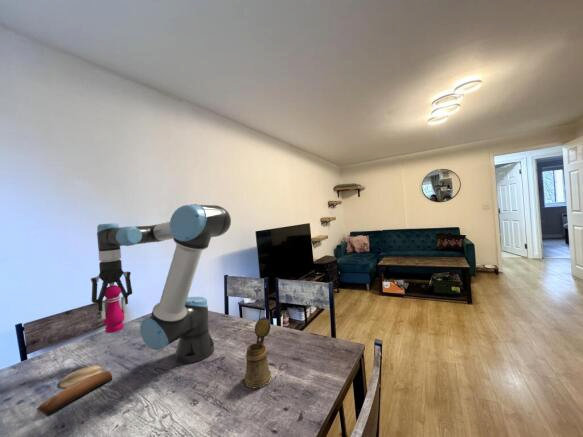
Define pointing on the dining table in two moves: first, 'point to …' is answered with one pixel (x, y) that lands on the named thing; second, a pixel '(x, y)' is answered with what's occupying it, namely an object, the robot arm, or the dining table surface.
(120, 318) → the pepper mill
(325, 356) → the dining table surface
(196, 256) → the robot arm
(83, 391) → the sunglasses case
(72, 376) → the coaster
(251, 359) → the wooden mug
